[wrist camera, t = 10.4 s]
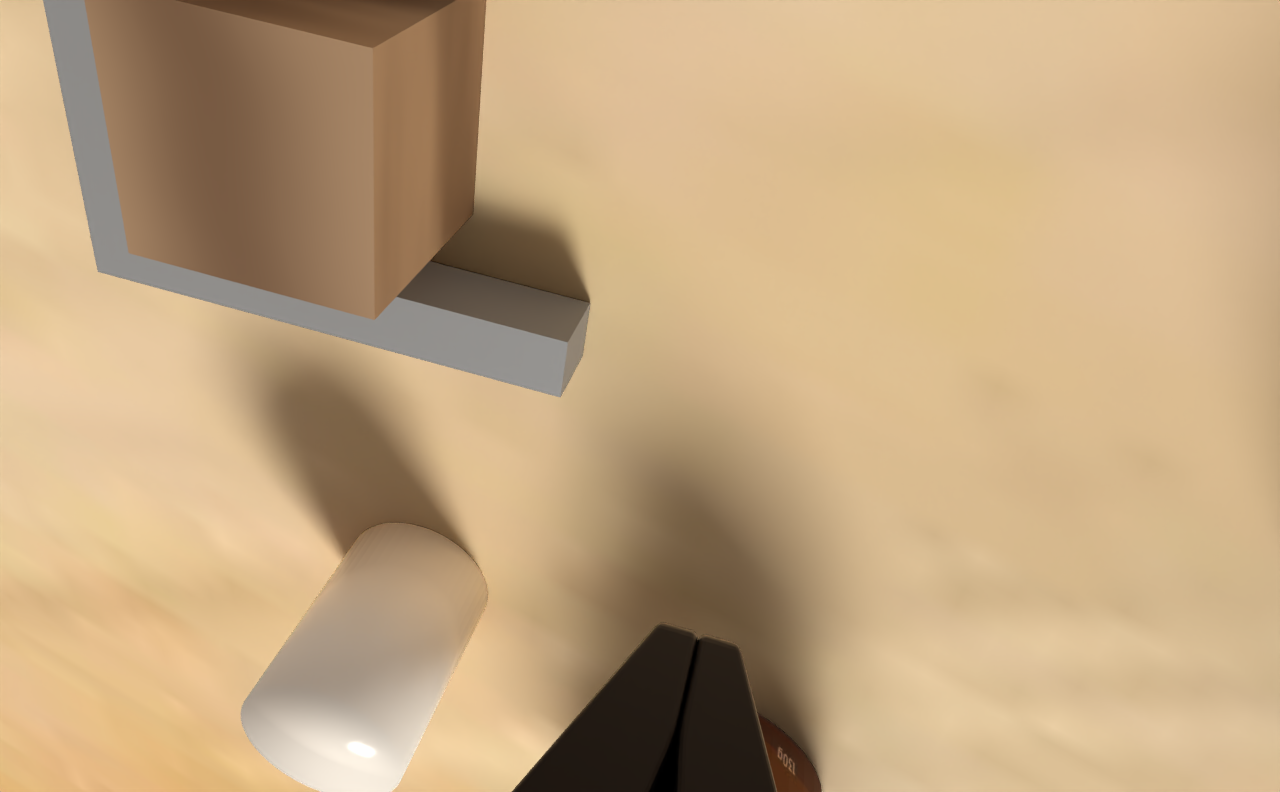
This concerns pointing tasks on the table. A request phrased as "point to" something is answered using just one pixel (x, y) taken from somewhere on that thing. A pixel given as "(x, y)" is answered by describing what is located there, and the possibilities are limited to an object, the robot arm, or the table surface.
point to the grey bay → (410, 325)
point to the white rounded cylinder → (368, 662)
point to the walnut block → (293, 137)
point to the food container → (788, 761)
